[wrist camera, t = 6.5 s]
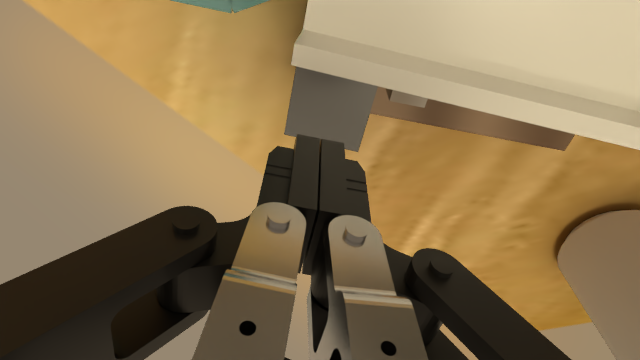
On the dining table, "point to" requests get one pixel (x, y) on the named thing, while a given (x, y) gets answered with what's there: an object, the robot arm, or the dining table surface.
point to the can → (607, 276)
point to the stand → (465, 119)
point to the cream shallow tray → (471, 63)
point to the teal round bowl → (223, 4)
